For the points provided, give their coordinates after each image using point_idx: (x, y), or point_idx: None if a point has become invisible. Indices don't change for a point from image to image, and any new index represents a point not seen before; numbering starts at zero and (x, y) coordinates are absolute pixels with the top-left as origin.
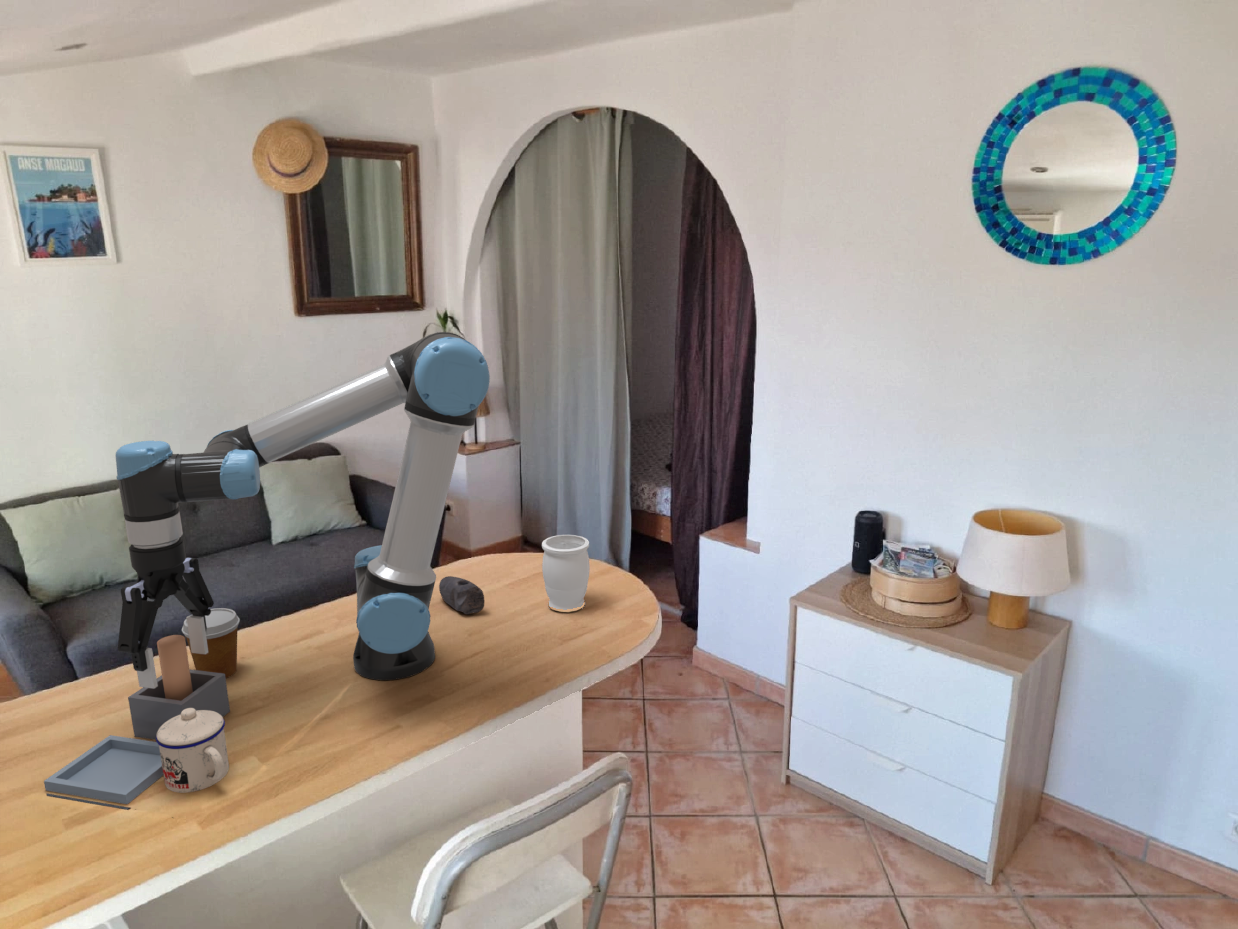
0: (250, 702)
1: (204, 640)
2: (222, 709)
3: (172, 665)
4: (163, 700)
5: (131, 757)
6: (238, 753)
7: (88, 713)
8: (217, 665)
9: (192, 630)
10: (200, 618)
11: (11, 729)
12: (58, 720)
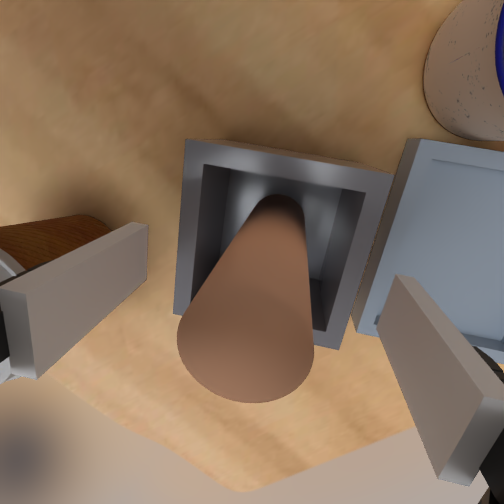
0: (161, 123)
1: (111, 240)
2: (239, 143)
3: (305, 276)
4: (361, 249)
5: (409, 260)
6: (383, 21)
7: (238, 402)
8: (83, 244)
9: (88, 310)
10: (21, 295)
11: (289, 475)
12: (261, 432)
